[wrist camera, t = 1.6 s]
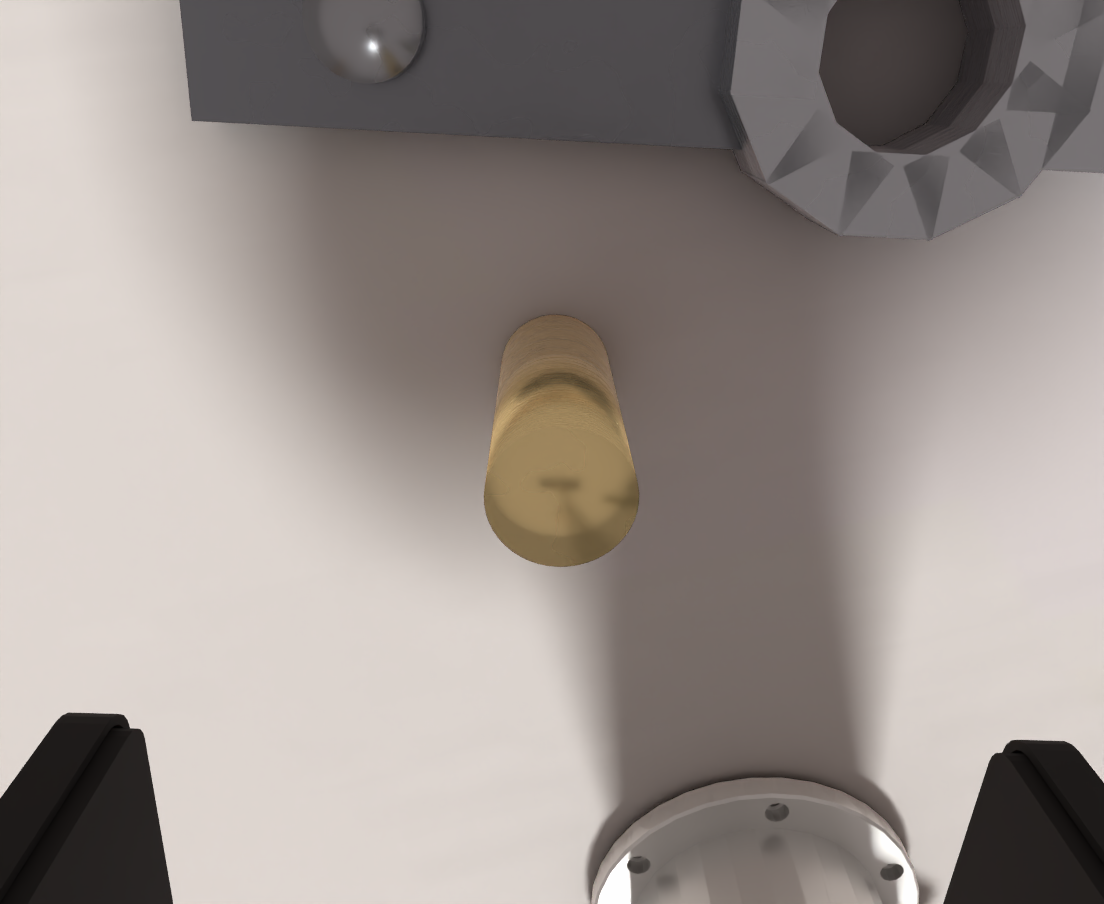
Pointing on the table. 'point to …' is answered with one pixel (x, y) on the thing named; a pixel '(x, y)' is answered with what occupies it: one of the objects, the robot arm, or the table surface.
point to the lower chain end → (493, 68)
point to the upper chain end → (938, 161)
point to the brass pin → (559, 448)
